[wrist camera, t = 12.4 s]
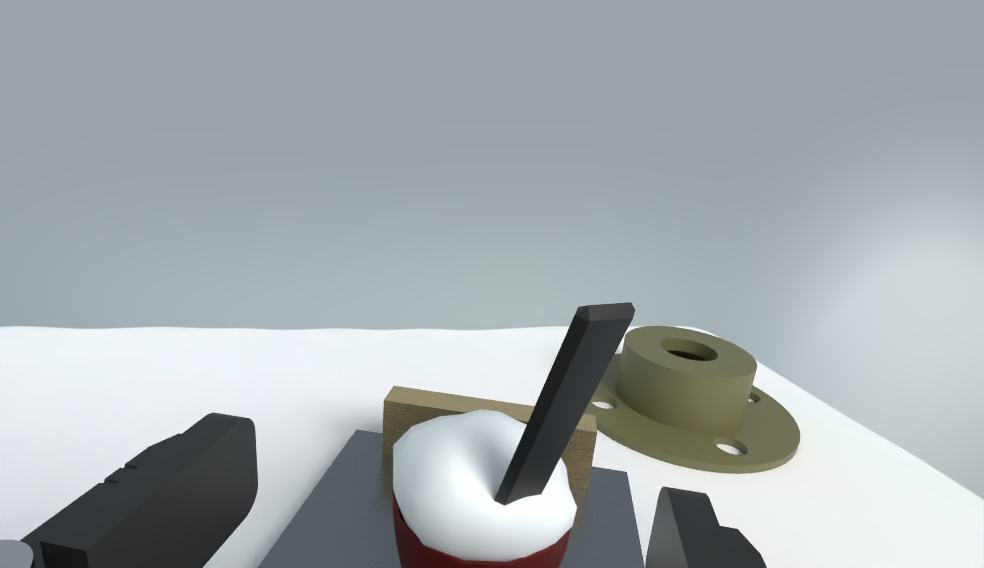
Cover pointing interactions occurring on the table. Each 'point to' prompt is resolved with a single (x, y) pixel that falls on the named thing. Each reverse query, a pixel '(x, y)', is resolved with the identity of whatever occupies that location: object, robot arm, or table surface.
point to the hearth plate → (369, 482)
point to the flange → (692, 403)
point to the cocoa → (502, 466)
